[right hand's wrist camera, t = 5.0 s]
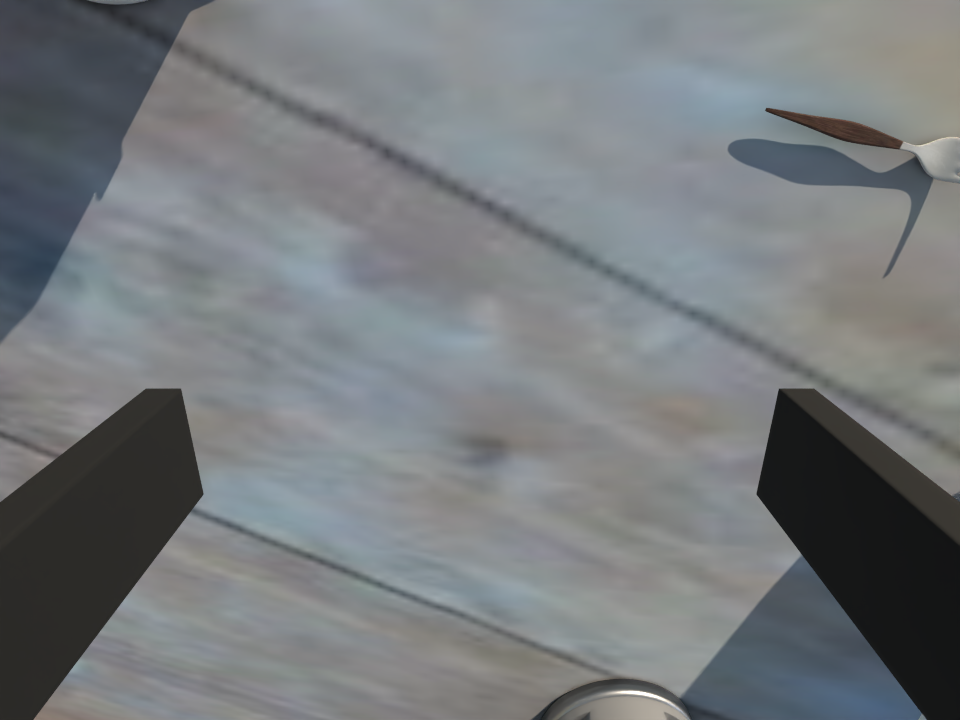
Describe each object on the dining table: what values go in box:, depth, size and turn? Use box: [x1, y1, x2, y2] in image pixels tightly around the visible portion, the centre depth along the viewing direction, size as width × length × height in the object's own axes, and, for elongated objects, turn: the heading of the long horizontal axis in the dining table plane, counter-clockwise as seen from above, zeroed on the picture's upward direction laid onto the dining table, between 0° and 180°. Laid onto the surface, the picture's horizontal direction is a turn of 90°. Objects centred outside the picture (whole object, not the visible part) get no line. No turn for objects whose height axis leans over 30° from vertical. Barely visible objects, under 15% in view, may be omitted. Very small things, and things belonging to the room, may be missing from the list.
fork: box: [765, 108, 960, 183], centre depth 36 cm, size 3×16×2 cm, turn 77°
